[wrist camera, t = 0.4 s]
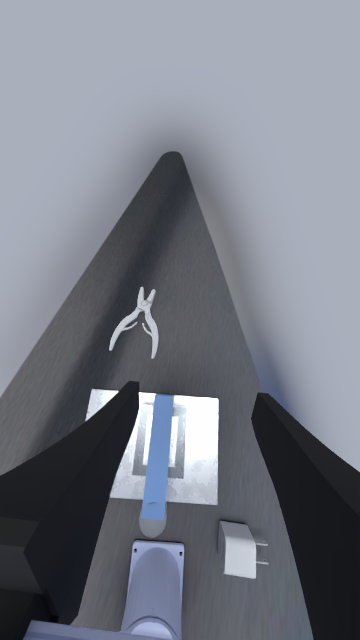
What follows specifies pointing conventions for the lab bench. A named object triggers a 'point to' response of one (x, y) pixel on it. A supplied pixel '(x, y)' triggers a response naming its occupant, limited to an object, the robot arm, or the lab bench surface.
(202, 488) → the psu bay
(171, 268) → the lab bench surface
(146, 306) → the pliers
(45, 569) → the robot arm
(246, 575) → the usb wall charger
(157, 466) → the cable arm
